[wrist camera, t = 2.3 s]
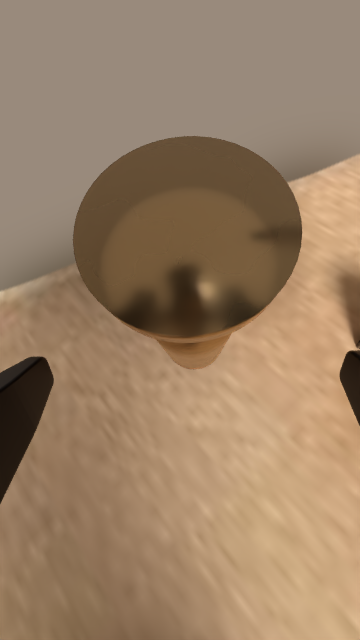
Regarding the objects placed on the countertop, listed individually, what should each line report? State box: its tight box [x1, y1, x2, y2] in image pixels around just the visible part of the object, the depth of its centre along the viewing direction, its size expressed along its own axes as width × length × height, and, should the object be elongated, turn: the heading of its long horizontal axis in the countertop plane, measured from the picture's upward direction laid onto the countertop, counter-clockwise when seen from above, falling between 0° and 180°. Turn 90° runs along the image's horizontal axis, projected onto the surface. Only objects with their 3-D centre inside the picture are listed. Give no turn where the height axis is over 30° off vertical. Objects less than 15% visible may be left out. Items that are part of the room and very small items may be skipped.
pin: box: [73, 136, 302, 369], centre depth 12 cm, size 5×5×13 cm
